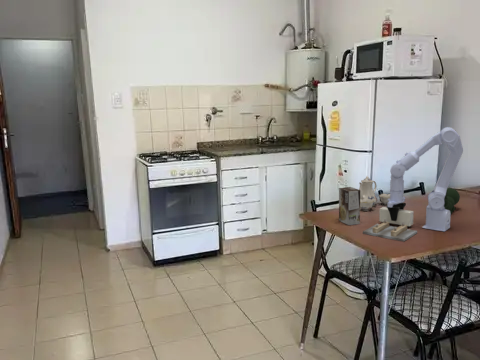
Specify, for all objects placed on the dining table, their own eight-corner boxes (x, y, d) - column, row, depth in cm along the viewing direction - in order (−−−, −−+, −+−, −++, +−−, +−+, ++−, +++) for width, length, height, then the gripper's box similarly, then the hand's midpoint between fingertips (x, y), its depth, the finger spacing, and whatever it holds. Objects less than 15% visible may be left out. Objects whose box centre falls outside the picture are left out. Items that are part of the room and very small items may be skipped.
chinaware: (368, 217, 218) (371, 185, 214) (341, 208, 230) (344, 177, 226) (398, 206, 235) (402, 177, 231) (372, 199, 248) (375, 170, 243)
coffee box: (360, 224, 201) (361, 190, 198) (348, 225, 199) (348, 191, 196) (350, 219, 209) (350, 186, 206) (338, 220, 208) (338, 187, 205)
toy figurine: (451, 221, 205) (461, 205, 224) (453, 183, 200) (463, 170, 220) (430, 218, 211) (442, 203, 230) (431, 181, 206) (443, 169, 225)
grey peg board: (417, 233, 185) (417, 222, 184) (403, 241, 175) (404, 230, 174) (377, 225, 197) (377, 216, 196) (362, 233, 187) (362, 223, 186)
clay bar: (413, 224, 194) (413, 211, 193) (409, 226, 191) (409, 213, 190) (383, 219, 203) (383, 206, 202) (379, 221, 200) (379, 208, 199)
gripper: (394, 186, 202) (394, 214, 205) (381, 192, 192) (380, 221, 194) (410, 188, 197) (409, 217, 200) (396, 194, 187) (395, 224, 189)
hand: (396, 219), depth 197 cm, fingers closed on clay bar, 4 cm apart
